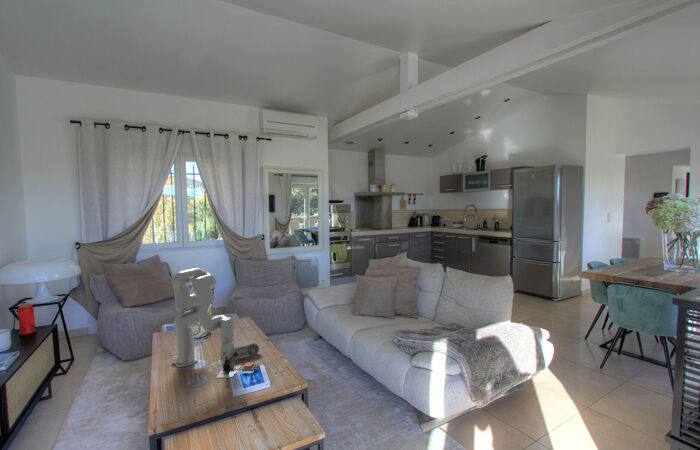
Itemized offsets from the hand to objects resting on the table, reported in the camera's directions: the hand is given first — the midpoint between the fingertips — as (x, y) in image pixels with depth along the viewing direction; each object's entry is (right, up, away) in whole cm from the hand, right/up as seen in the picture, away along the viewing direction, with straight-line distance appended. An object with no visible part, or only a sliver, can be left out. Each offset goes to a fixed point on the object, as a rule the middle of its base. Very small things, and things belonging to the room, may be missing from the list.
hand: (228, 367), depth 198 cm
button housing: (+12, -2, 0) cm, 12 cm away
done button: (+12, 0, 0) cm, 12 cm away
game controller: (+3, -2, +19) cm, 19 cm away
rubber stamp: (0, -1, 0) cm, 1 cm away
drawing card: (0, -2, 0) cm, 2 cm away
